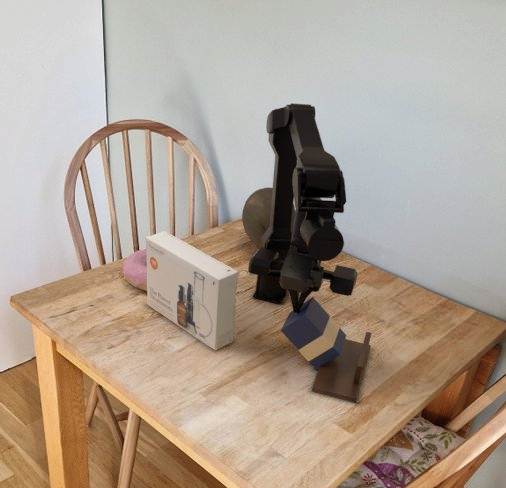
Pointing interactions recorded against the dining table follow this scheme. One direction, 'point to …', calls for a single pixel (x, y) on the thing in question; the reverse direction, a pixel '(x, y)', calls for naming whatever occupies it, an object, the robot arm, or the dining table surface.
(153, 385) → the dining table surface
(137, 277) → the donut
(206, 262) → the skincare box
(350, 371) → the walnut stand
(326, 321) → the tea box
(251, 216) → the cantaloupe
